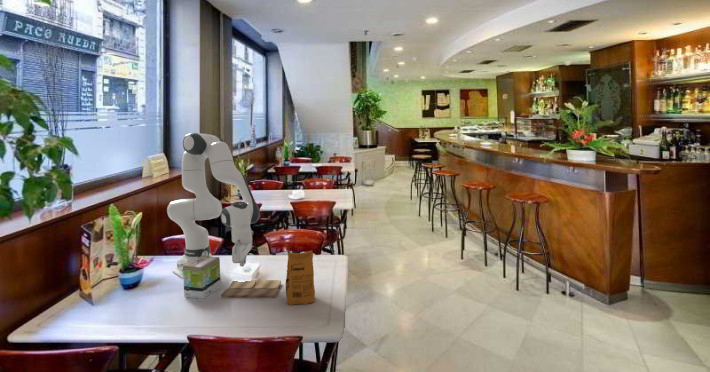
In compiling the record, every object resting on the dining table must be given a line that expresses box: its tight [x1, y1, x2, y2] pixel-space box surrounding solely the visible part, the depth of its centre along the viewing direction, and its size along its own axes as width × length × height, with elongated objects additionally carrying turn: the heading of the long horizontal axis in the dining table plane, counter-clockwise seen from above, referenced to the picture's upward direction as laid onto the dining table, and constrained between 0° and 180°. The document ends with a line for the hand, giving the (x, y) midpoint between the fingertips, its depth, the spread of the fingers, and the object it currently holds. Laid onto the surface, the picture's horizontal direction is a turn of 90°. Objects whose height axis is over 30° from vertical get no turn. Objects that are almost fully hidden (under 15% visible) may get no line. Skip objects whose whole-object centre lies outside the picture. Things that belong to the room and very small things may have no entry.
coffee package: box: [285, 250, 316, 306], centre depth 181 cm, size 10×12×22 cm
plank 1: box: [227, 279, 257, 289], centre depth 198 cm, size 11×8×1 cm
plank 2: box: [253, 279, 282, 290], centre depth 197 cm, size 11×8×1 cm
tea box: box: [182, 256, 222, 299], centre depth 192 cm, size 15×10×15 cm, turn 168°
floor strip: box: [220, 288, 279, 299], centre depth 189 cm, size 24×7×1 cm, turn 88°
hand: (243, 264), depth 198 cm, fingers closed
